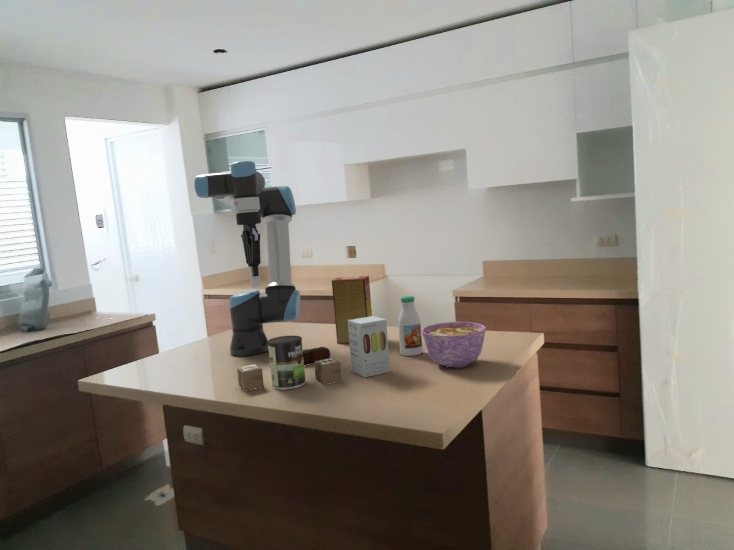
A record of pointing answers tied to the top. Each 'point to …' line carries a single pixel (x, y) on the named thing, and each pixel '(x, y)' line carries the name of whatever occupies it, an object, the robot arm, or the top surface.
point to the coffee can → (286, 362)
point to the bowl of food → (454, 342)
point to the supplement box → (368, 346)
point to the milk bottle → (409, 328)
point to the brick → (315, 355)
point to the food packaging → (350, 303)
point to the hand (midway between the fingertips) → (255, 286)
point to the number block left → (250, 377)
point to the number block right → (328, 371)
